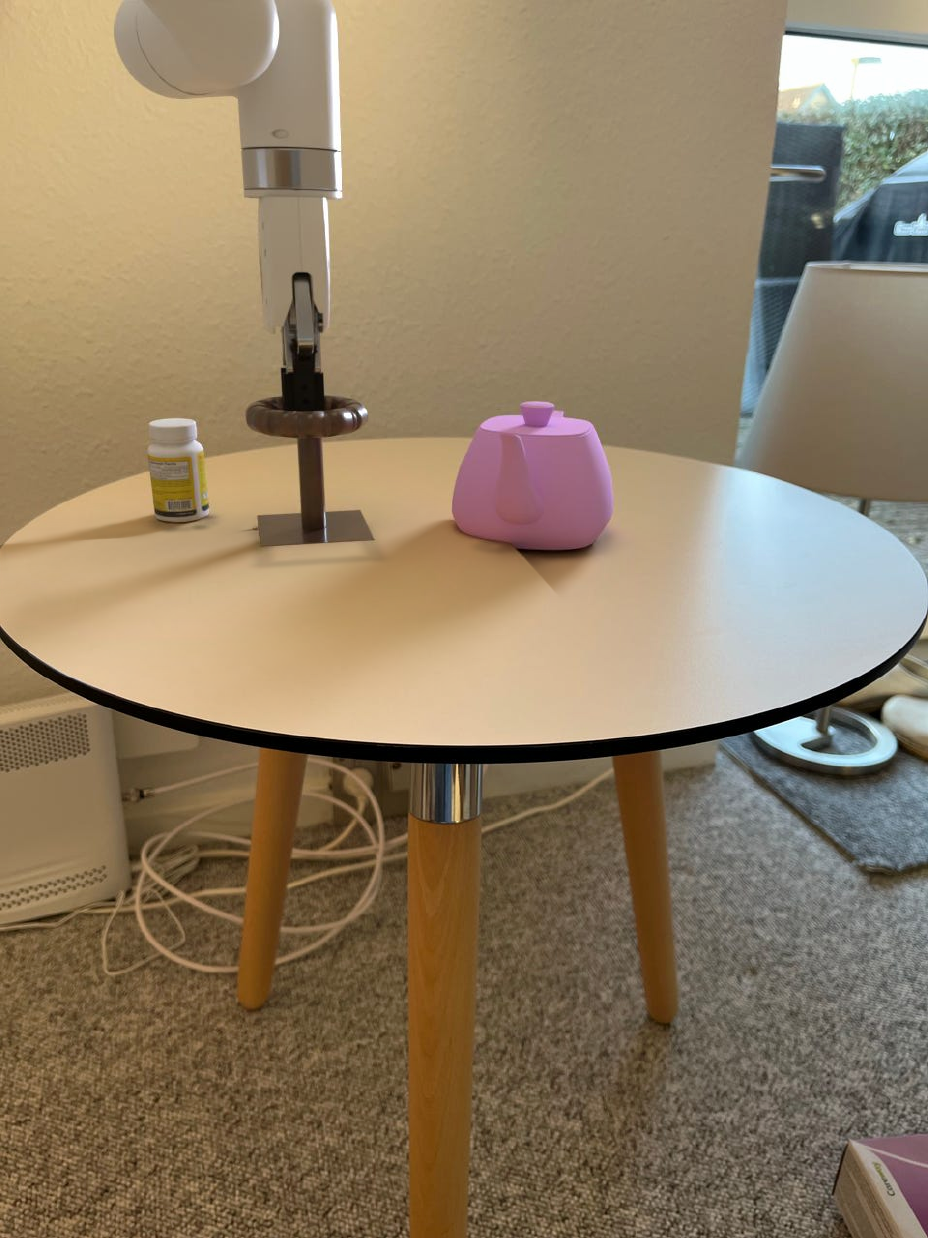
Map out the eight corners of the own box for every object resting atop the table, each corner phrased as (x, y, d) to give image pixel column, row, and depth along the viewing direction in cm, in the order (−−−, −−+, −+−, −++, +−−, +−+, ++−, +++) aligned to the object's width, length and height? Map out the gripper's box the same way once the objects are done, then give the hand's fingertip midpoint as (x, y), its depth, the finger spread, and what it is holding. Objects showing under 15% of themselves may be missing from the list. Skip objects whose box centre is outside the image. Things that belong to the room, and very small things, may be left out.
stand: (262, 558, 77) (253, 431, 74) (257, 526, 85) (249, 410, 82) (375, 551, 79) (372, 427, 75) (360, 520, 87) (357, 407, 84)
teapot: (420, 565, 76) (419, 421, 72) (483, 500, 94) (485, 382, 90) (592, 581, 73) (601, 432, 69) (623, 511, 91) (632, 389, 87)
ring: (247, 442, 74) (245, 415, 73) (245, 418, 82) (244, 394, 82) (374, 438, 76) (374, 412, 75) (360, 415, 84) (359, 391, 83)
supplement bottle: (186, 506, 91) (177, 415, 88) (220, 514, 89) (212, 421, 85) (143, 517, 88) (132, 422, 84) (177, 526, 85) (167, 429, 82)
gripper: (240, 181, 82) (255, 404, 89) (245, 171, 67) (262, 439, 74) (330, 183, 83) (338, 402, 90) (354, 174, 69) (361, 436, 76)
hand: (303, 416), depth 82 cm, fingers closed on ring, 2 cm apart
